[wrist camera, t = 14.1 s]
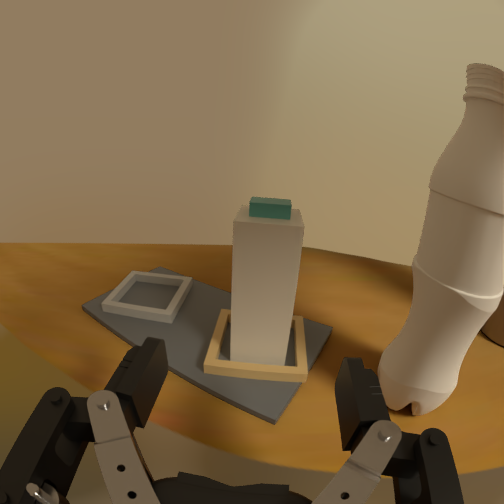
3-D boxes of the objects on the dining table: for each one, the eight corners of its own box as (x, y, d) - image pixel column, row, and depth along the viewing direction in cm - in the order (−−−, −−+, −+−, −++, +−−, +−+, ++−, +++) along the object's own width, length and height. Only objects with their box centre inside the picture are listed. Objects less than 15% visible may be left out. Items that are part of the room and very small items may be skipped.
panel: (158, 269, 39) (157, 258, 39) (334, 333, 28) (338, 320, 28) (81, 308, 29) (78, 296, 28) (279, 426, 18) (282, 414, 17)
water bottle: (359, 412, 19) (440, 38, 9) (377, 358, 25) (433, 72, 15) (439, 432, 16) (552, 78, 6) (442, 375, 21) (516, 97, 12)
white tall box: (236, 329, 27) (242, 192, 22) (283, 333, 27) (300, 197, 22) (230, 361, 23) (234, 205, 18) (284, 366, 23) (306, 211, 18)
